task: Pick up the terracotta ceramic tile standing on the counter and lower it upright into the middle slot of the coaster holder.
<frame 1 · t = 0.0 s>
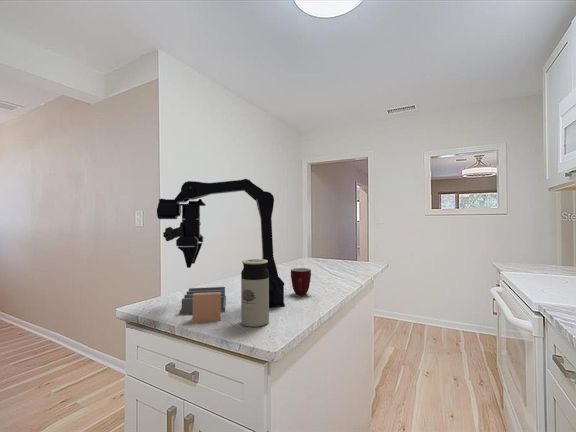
hand: (190, 265, 97), 15 cm above the worktop, tool pointing down, fingers open, 9 cm apart
coaster holder: (205, 305, 101), on the worktop
tile: (207, 320, 86), on the worktop
mug: (301, 296, 114), on the worktop
travel mug: (255, 323, 84), on the worktop
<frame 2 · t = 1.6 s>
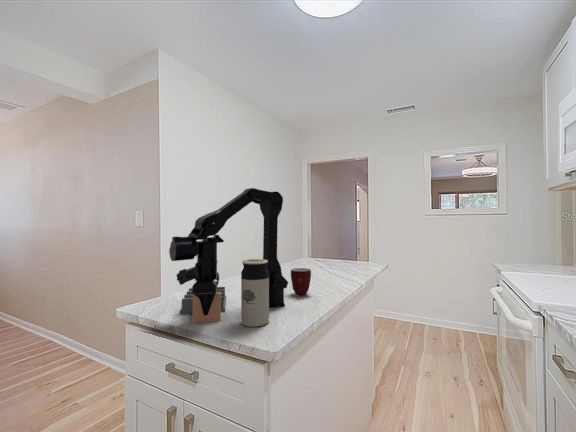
hand: (207, 310, 87), 3 cm above the worktop, tool pointing down, fingers open, 9 cm apart
nothing on the worktop moved.
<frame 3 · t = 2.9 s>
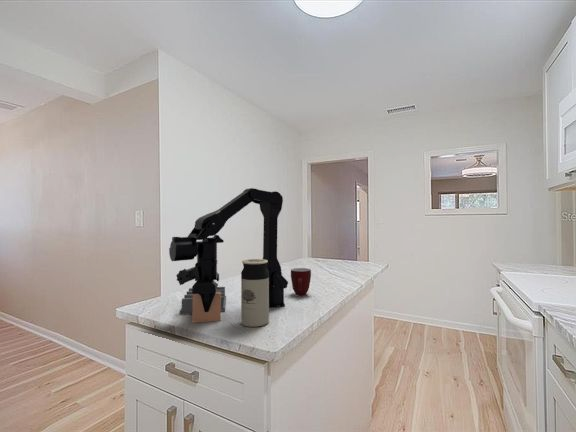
hand: (207, 310, 87), 3 cm above the worktop, tool pointing down, fingers closed on tile, 2 cm apart
tile: (207, 320, 86), on the worktop, touching gripper
everything else where it was.
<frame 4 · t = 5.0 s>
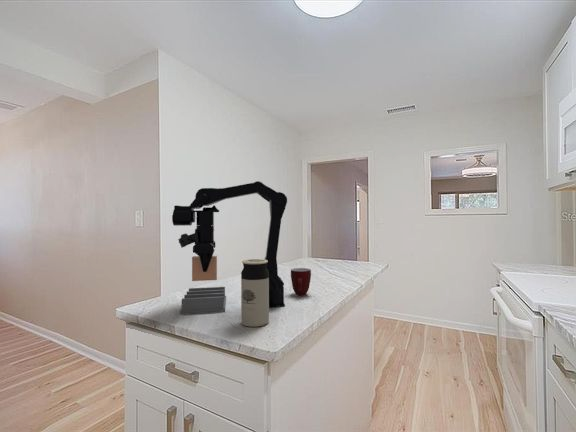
hand: (205, 271, 99), 13 cm above the worktop, tool pointing down, fingers closed on tile, 2 cm apart
tile: (204, 279, 99), point 10 cm above the worktop, touching gripper
everything else where it was.
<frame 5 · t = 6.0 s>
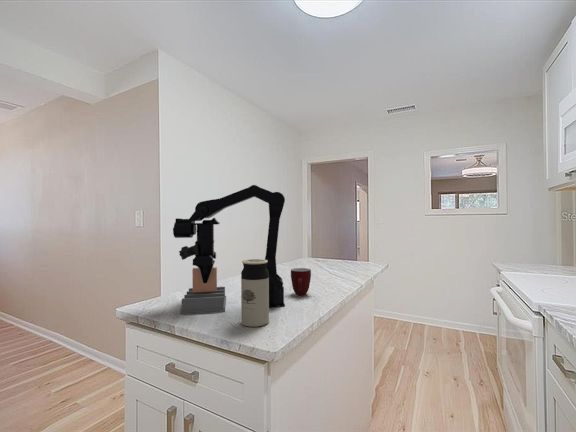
hand: (205, 282, 101), 8 cm above the worktop, tool pointing down, fingers closed on tile, 2 cm apart
tile: (205, 291, 101), point 5 cm above the worktop, touching gripper
everything else where it was.
when the fingers open (5 cm above the worktop, at t = 7.1 s): tile drops 1 cm, resting on coaster holder.
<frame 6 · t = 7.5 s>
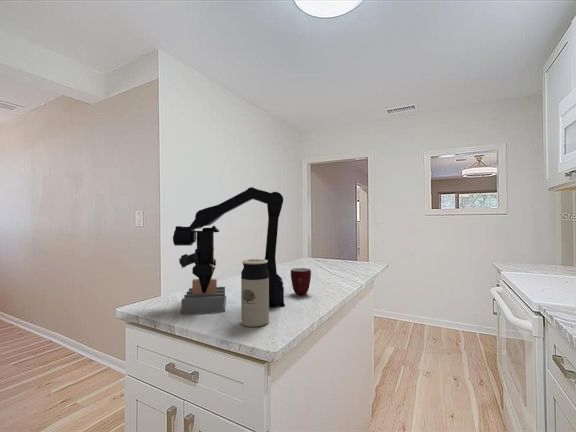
hand: (205, 290, 101), 5 cm above the worktop, tool pointing down, fingers open, 7 cm apart
tile: (204, 302, 101), point 1 cm above the worktop, touching coaster holder
everything else where it was.
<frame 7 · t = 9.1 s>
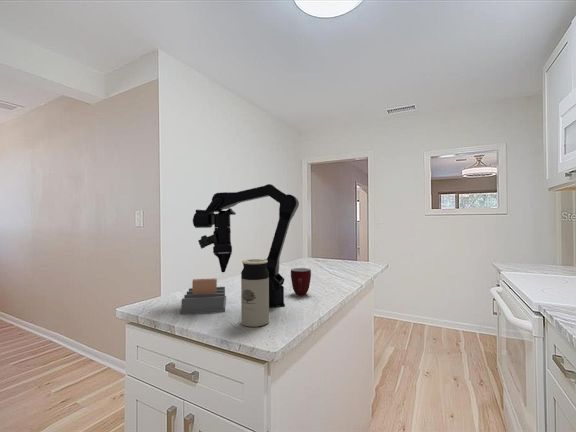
hand: (223, 270, 106), 12 cm above the worktop, tool pointing down, fingers open, 9 cm apart
nothing on the worktop moved.
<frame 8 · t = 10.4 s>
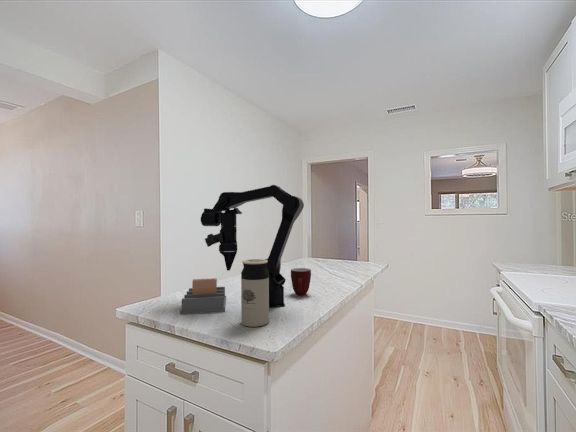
hand: (228, 268, 107), 12 cm above the worktop, tool pointing down, fingers open, 9 cm apart
nothing on the worktop moved.
at the end: tile 0.1 cm off-centre on the coaster holder, point 1.2 cm above the coaster holder's base; tile tilted 0°; the gripper is holding nothing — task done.
